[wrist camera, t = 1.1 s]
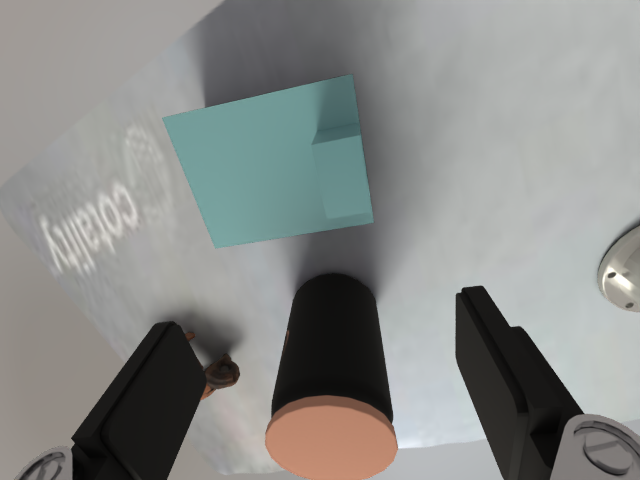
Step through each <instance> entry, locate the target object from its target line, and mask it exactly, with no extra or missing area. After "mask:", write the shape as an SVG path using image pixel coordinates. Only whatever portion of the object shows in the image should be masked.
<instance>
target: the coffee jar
mask: <svg viewBox="0 0 640 480" xmlns="http://www.w3.org/2000/svg"><path fill="white" fill-rule="evenodd" d="M271 418H272V419H271V420H270V422H269V424H268V426H267V430H266V440H265V446H266V448H267V450H268V452H269V454H270V456H271V458H272V459H273V460H274V461H275V462H277V463H278V464H279V465H280V466H281V467H282V468H284V469H286V470H288V471H290V472H291V473H293V474H295V475H297V476H300V477H304V478H308V479H311V480H362V479H366V478H370V477H372V476H374V475H376V474H378V473H380V472H382V471H383V470H385V469H386V468H387V467H388V466H389V465H390V464H391V463H392V462H393V461H394V458H395V455H396V452H397V450H398V445H397V440H396V435H395V431H394V427H393V425H392V422H393V410H392V404H391V397H390V391H389V384H388V377H387V371H386V364H385V358H384V351H383V344H382V338H381V331H380V325H379V318H378V311H377V306H376V300H375V298H374V296H373V294H372V293H371V291H370V290H369V288H368V287H366V286H365V285H364V284H363V283H361V282H360V281H359V280H357V279H354V278H352V277H349V276H347V275H343V274H334V273H332V274H325V275H320V276H318V277H316V278H313V279H311V280H309V281H307V282H306V283H305V284H304V285H303V286H302V287H301V288H300V289H299V290H298V291H297V293H296V295H295V297H294V299H293V303H292V308H291V312H290V317H289V322H288V327H287V332H286V336H285V341H284V346H283V351H282V356H281V360H280V365H279V370H278V375H277V380H276V384H275V389H274V394H273V399H272V411H271Z"/></svg>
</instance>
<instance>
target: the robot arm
mask: <svg viewBox="0 0 640 480" xmlns="http://www.w3.org/2000/svg"><path fill="white" fill-rule="evenodd" d="M598 285H599V289H600V291H601V293H602V294H603V296H604V297H605V298H607V299H608V300H609V301H610V302H611V303H612V304H614V305H615V306H617V307H618V308H621V309H623V310H627V311H632V312H640V226H638V227H636V228H635V229H633V230H631V231H630V232H629V233H627V234H626V235H625V236H623V237H622V238H621V239H620V240H619V241H618V242H617V243H616V244H615V245H613V246H612V248H611V249H610V250H609V252H608V253H607V254H606V256H605V257H604V259H603V261H602V263H601V265H600V268H599V272H598ZM455 353H456V360H457V364H458V367H459V370H460V372H461V375H462V377H463V380H464V382H465V385H466V387H467V390H468V392H469V395H470V397H471V400H472V402H473V405H474V407H475V410H476V412H477V415H478V417H479V420H480V422H481V425H482V427H483V430H484V432H485V435H486V437H487V440H488V442H489V444H490V447H491V450H492V452H493V455H494V457H495V460H496V462H497V465H498V467H499V469H500V472H501V475H502V477H503V479H504V480H640V436H638V435H637V434H636V433H634V432H633V431H632V430H630V429H629V428H628V427H626V426H624V425H622V424H620V423H619V422H617V421H615V420H612V419H609V418H606V417H603V416H600V415H593V414H584V413H583V411H582V410H581V408H580V407H579V406H578V404H577V403H576V401H575V400H574V399H573V397H572V396H571V394H570V393H569V391H568V390H567V389H566V387H565V386H564V384H563V383H562V382H561V380H560V379H559V377H558V376H557V375H556V373H555V372H554V370H553V369H552V368H551V366H550V365H549V363H548V362H547V361H546V359H545V358H544V356H543V355H542V354H541V352H540V351H539V349H538V348H537V347H536V345H535V344H534V342H533V341H532V339H531V338H530V337H529V335H528V334H527V332H526V331H525V330H524V329H523V328H522V327H520V326H516V327H510V326H509V324H508V323H507V321H506V320H505V318H504V317H503V315H502V314H501V312H500V311H499V309H498V308H497V306H496V305H495V303H494V302H493V300H492V298H491V297H490V295H489V294H488V292H487V291H486V289H485V288H484V287H483V286H473V287H465V288H462V292H461V293H456V351H455ZM206 385H207V378H206V375H205V373H204V371H203V369H202V367H201V365H200V363H199V361H198V359H197V357H196V355H195V353H194V351H193V349H192V347H191V346H190V344H189V342H188V340H187V338H186V336H185V334H184V332H183V330H182V328H181V327H180V326H179V325H177V324H176V323H175V322H173V321H170V322H161V323H156V324H155V325H154V326H153V327H152V328H151V330H150V331H149V332H148V334H147V335H146V336H145V338H144V339H143V340H142V342H141V343H140V345H139V346H138V347H137V349H136V350H135V351H134V353H133V354H132V356H131V357H130V358H129V360H128V361H127V362H126V364H125V365H124V367H123V368H122V369H121V371H120V372H119V373H118V375H117V376H116V378H115V379H114V380H113V382H112V383H111V384H110V386H109V387H108V389H107V390H106V391H105V393H104V394H103V395H102V397H101V398H100V399H99V401H98V402H97V404H96V405H95V406H94V408H93V409H92V410H91V412H90V413H89V415H88V416H87V417H86V419H85V420H84V421H83V423H82V424H81V425H80V427H79V428H78V430H77V431H76V432H75V434H74V435H73V436H72V438H71V439H72V440H73V441H74V442H75V444H74V446H73V447H72V448H71V449H70V448H68V447H67V446H58V447H55V448H52V449H49V450H47V451H45V452H44V453H42V454H40V455H39V456H38V457H36V458H35V459H33V460H32V461H31V462H30V463H29V464H28V465H26V466H25V467H24V468H23V469H22V470H21V472H20V473H19V474H18V475H17V476H16V477H15V479H14V480H167V478H168V476H169V473H170V471H171V468H172V466H173V464H174V461H175V459H176V456H177V454H178V452H179V450H180V447H181V445H182V442H183V440H184V438H185V435H186V433H187V431H188V428H189V426H190V424H191V421H192V419H193V416H194V414H195V412H196V409H197V407H198V405H199V402H200V400H201V397H202V395H203V393H204V390H205V388H206Z"/></svg>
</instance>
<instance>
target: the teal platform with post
mask: <svg viewBox="0 0 640 480" xmlns="http://www.w3.org/2000/svg"><path fill="white" fill-rule="evenodd" d="M162 119H163V122H164V124H165V127H166V129H167V131H168V134H169V136H170V139H171V141H172V144H173V146H174V149H175V151H176V153H177V156H178V158H179V161H180V163H181V166H182V168H183V171H184V173H185V176H186V178H187V180H188V183H189V185H190V188H191V190H192V193H193V195H194V198H195V200H196V202H197V205H198V207H199V210H200V212H201V215H202V217H203V220H204V222H205V224H206V227H207V229H208V232H209V234H210V237H211V239H212V242H213V244H214V246H215V248H222V247H228V246H234V245H240V244H246V243H253V242H259V241H265V240H271V239H277V238H284V237H290V236H296V235H302V234H308V233H314V232H321V231H327V230H333V229H339V228H345V227H352V226H358V225H364V224H370V223H374V220H373V213H372V206H371V199H370V192H369V185H368V178H367V171H366V164H365V157H364V150H363V143H362V136H361V129H360V122H359V115H358V108H357V101H356V94H355V87H354V80H353V74H349V75H344V76H340V77H336V78H331V79H327V80H323V81H318V82H314V83H310V84H306V85H301V86H297V87H293V88H288V89H284V90H280V91H275V92H271V93H267V94H262V95H258V96H254V97H249V98H245V99H241V100H236V101H232V102H228V103H224V104H219V105H215V106H211V107H206V108H202V109H198V110H193V111H189V112H185V113H180V114H176V115H172V116H168V117H164V118H162Z"/></svg>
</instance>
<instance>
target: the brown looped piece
mask: <svg viewBox="0 0 640 480" xmlns="http://www.w3.org/2000/svg"><path fill="white" fill-rule="evenodd" d="M185 336H186V338H187V340H188V342H189V341H190V340H191V339H193V338H194V337H195V334H194V333H189V332H188V333H186V334H185ZM198 361H199V360H198ZM199 363H200V362H199ZM200 365H201V364H200ZM201 367H202V369H203V366H202V365H201ZM204 373H205V375H206V378H207V385H206V388H205V390H204V393H203V395H202V397H201V400H202V399H205V398H206V397H208V396H210V395H211V394H212V393H213V392H214V391H215V390H216V389H221V388H225V387H230V386H233V385H234V384H235V383H236V382H237V381H238V378H239V376H240V372H239V367H238V366H237V364H236V363H234V362H232V361H231V358H230V357H229V355H227V354H224V355H223V357H222V358H221V359H220V360H219V361H217V362H216V363H213V364H211V365H210V366H209V367H208V368H207V369H206V371H205V372H204Z"/></svg>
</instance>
